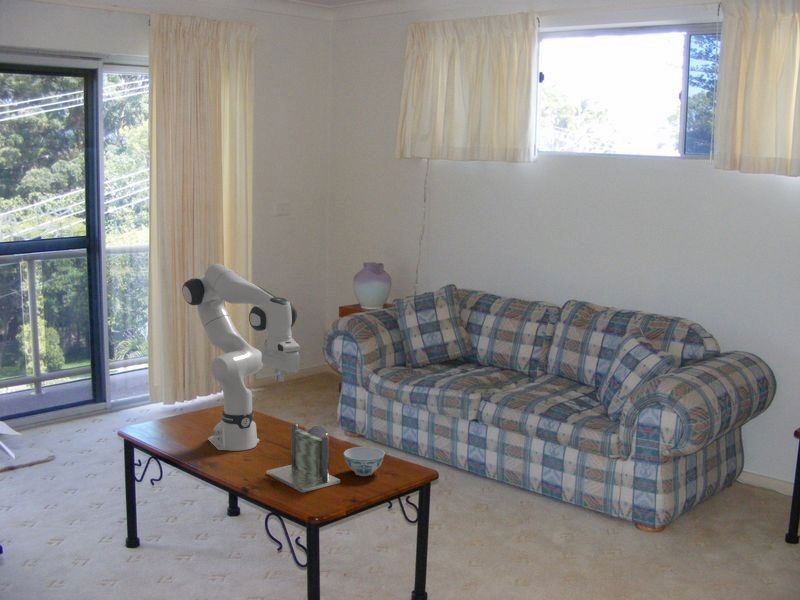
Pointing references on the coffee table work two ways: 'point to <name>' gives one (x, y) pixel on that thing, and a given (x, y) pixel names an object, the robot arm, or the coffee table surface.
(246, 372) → the robot arm
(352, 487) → the coffee table surface
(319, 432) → the bluetooth speaker
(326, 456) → the gate frame
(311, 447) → the gate
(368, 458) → the chinaware
